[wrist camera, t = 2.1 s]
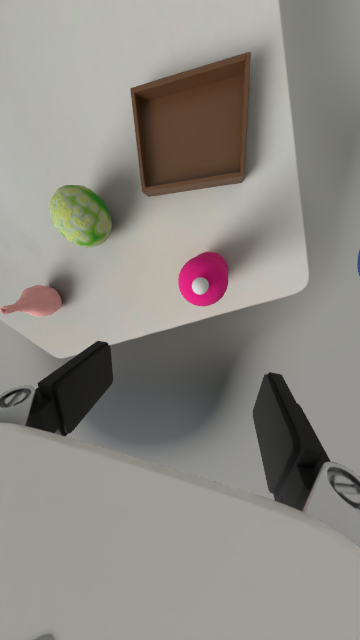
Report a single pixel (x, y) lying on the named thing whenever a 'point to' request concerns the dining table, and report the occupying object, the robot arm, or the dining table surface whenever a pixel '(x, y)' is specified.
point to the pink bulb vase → (36, 301)
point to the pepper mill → (204, 279)
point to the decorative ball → (80, 215)
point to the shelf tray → (193, 127)
